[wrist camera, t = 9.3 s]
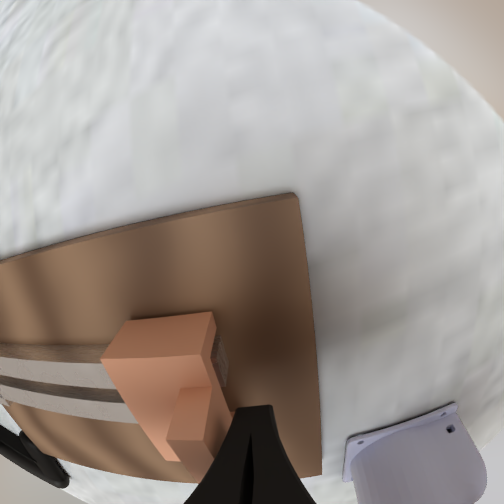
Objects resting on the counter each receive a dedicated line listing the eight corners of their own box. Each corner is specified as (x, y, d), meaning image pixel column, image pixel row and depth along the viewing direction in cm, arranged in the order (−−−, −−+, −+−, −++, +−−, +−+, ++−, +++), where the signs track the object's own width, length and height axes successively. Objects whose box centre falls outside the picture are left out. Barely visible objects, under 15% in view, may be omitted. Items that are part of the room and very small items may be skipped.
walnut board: (293, 192, 12) (298, 197, 10) (319, 460, 18) (321, 474, 16) (-51, 278, 14) (-62, 284, 12) (47, 443, 20) (42, 452, 18)
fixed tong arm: (216, 319, 12) (210, 342, 10) (228, 362, 13) (225, 386, 11) (-30, 332, 13) (-41, 342, 12) (-17, 357, 14) (-27, 368, 13)
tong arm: (173, 381, 13) (165, 404, 11) (188, 412, 14) (182, 434, 12) (-13, 367, 14) (-23, 377, 13) (1, 389, 15) (-8, 400, 13)
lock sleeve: (212, 311, 11) (186, 409, 7) (245, 419, 14) (242, 503, 9) (126, 320, 12) (71, 402, 7) (175, 422, 14) (156, 497, 9)
